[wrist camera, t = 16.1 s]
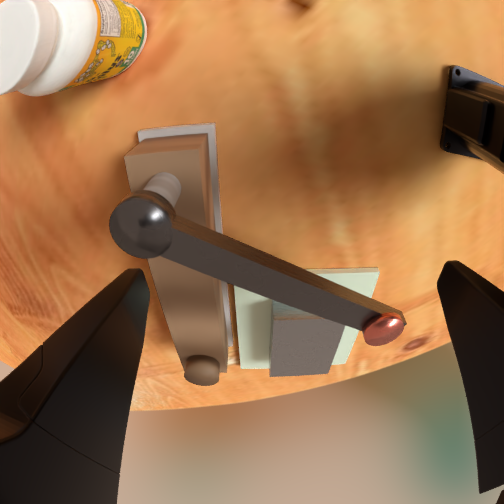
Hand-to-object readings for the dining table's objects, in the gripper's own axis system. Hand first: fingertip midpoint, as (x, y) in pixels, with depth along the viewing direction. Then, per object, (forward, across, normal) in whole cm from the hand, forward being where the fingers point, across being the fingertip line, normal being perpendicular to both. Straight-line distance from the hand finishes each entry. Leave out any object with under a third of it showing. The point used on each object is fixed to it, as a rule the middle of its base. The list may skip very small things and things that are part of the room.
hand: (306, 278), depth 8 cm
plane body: (+12, +6, +9) cm, 16 cm away
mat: (+12, -3, +17) cm, 21 cm away
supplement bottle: (+12, +10, -8) cm, 18 cm away
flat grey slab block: (+11, -3, +17) cm, 21 cm away
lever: (+5, 0, +4) cm, 6 cm away
